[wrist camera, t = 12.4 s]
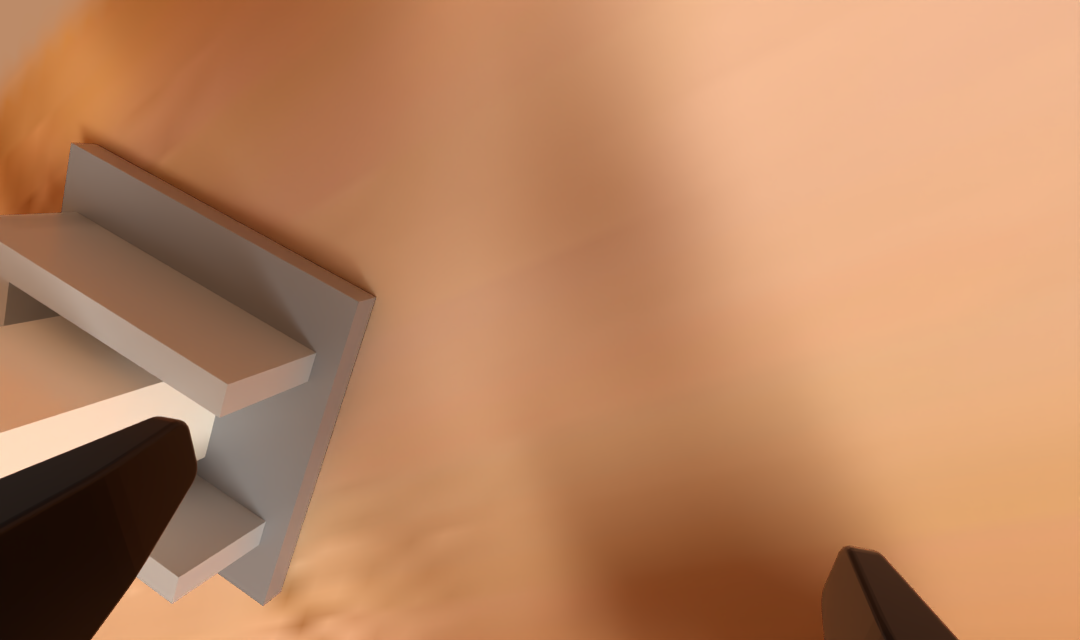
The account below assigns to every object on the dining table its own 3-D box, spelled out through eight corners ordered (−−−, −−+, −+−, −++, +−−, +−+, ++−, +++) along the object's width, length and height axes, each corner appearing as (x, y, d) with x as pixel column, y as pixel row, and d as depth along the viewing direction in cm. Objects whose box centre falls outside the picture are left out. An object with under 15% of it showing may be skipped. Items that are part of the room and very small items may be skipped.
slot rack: (375, 297, 23) (273, 324, 19) (280, 592, 28) (179, 673, 23) (96, 144, 27) (-50, 136, 22) (51, 429, 31) (-77, 472, 26)
